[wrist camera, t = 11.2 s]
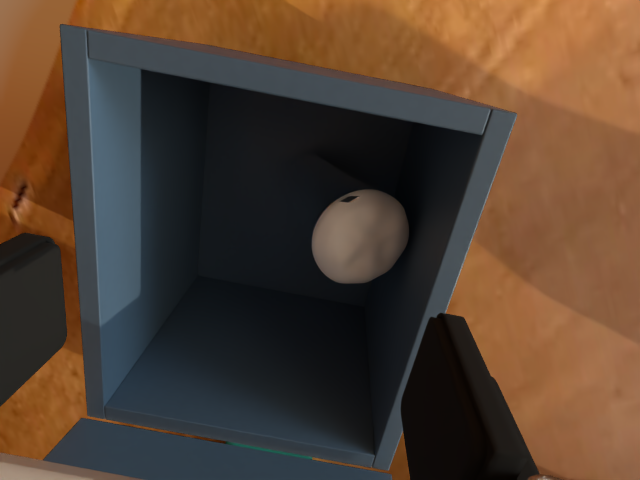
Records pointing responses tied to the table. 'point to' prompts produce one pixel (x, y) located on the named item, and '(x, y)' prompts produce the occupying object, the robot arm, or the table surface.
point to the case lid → (185, 457)
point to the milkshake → (346, 220)
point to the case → (257, 240)
